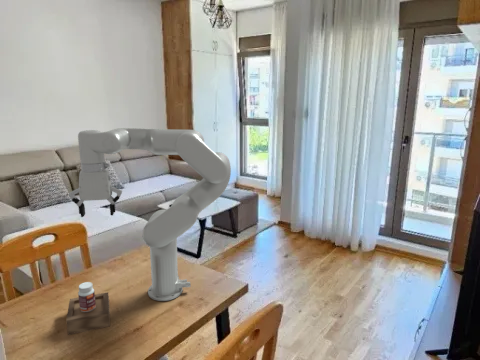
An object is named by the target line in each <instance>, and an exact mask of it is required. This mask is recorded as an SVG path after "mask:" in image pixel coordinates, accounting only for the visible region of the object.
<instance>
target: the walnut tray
mask: <svg viewBox="0 0 480 360" xmlns="http://www.w3.org/2000/svg"><path fill="white" fill-rule="evenodd" d="M95 304H96V307H95V309H94V310H92V311H90V312H82V311H81V310H80V305H79V296H78V297H74V298H69V302H68V308H67V309H68V310H67V313H66V314H67V315H66V320H65V321H66V327H67V328H66V330H67V336H68V335H74V334H78V333H83V332H88V331H92V330H98V329H102V328H103V329H104V328H108V327H110V326H111V324H110V323H111V322H110V321H111V318H110V316H111V314H110V300H109V292H108V291H107V292H102V293H97V294H95Z"/></svg>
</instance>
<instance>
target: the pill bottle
mask: <svg viewBox="0 0 480 360" xmlns="http://www.w3.org/2000/svg"><path fill="white" fill-rule="evenodd" d="M93 286H94V285H93V282H90V281H86V282H82V283H80V284H79V285H78V292H77V293H78V297H79V305H80V310H81V311H82V312H90V311H92V310H94V309H95V307H96V304H95V289H94V287H93Z"/></svg>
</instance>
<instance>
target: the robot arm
mask: <svg viewBox="0 0 480 360" xmlns="http://www.w3.org/2000/svg"><path fill="white" fill-rule="evenodd" d="M77 142H78V149H79V160H80V171H79V174H78V175H79V176H78V188H76V189H73V190H72V191H70V192H69V193H67V195H68V197H69V198H70V199H71V202H72V203H74V204H75V205H76V206H77V208H78V214H79V215H80V217H81V218H83V217H85V216H86V208H85V203H84V202H85V201H87V202H88V201H89V202H90V201H106V200H107V201H108V202H109V211H110V212H109V214H110V216H114V214H115V213H116V203H117V202H118V200H120V198H121V195H122V194H123V190H122V189H118V188H117V187H114V186H112V181H111V176H110V172H109V170H108V169H107V168H110V163H107V162H106V159H105V155H115V154H118V153H121V152H122V151H123V150H139V151H142V150H143V151H147V152H149V153H151V154H153V155H156V156H179V157H180V158H181V159H182V160H183V161H184V162H185V163H186V164H188V166H190V168H192V170H194V171H195V172H196V173H197V174H198V175H200V176H201V180H199V181H198V182H197V183H196V184H194V186H192V187H191V188H190V189H188V190H187V191H185V192H184V193H182V194H181V195H179V196H178V197H176V198H175V199H174V201H173V202H172V204H171V206H170V207H169V208H166V209H159V210H157V211H155V212H154V213H153V214H152V215H151V216H150V217H149V219H148V220H147V222H146V224H145V225H144V226H143V230H142V240H143V242H144V244H145V245H146V246H148V247H149V253H150V254H149V256H150V271H151V272H150V274H151V277H150V278H151V285H150V286H149V287H148V290H147V295H148V297H149V298H150V299H152V300H154V301H159V302H167V301H171V300H174V299H177V298H178V297H179V296H180V295H182V293H183V288H191V281H188V279H187V278H185V279H181V278H180V276H179V274H178V273H179V272H178V271H179V269H178V240H177V239H178V238H179V237H180V236H182V235H183V234H184V233H185V234H186V232H187V231H189V230H190V229H191V228H192V227H194V225H195V223H197V220H198V217H199V214H200V213H201V212H202V211H204V210H205V209H206V208H207V207H209V206H210V205H211V204H212V203H214V202H215V201H216V200H217V199H219V198H220V197H221V195H223V193H224V192H225V190H226V189H227V187H228V185H229V183H230V179H231V172H232V170H231V163H230V159H229V158H228V156H227V155H226V154H224V153H222V152H215V151H213V150H212V149H211V148H210V147H209V146H208V145H207V144H206V143H205V138H204V136H203V134H202V133H201V132H199V131H198V130H195V129H172V128H171V129H167V128H166V129H160V128H158V129H157V128H128V127H127V128H126V127H125V128H124V127H123V128H114V129H111V130H108V131H102V132H101V131H100V130H97V129H96V130H94V129H93V130H92V129H89V130H82V131H79V132H78V134H77ZM113 193H116V196H115V197H113ZM77 194H79V195H78V196H79V198H78V197H76V195H77Z"/></svg>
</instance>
